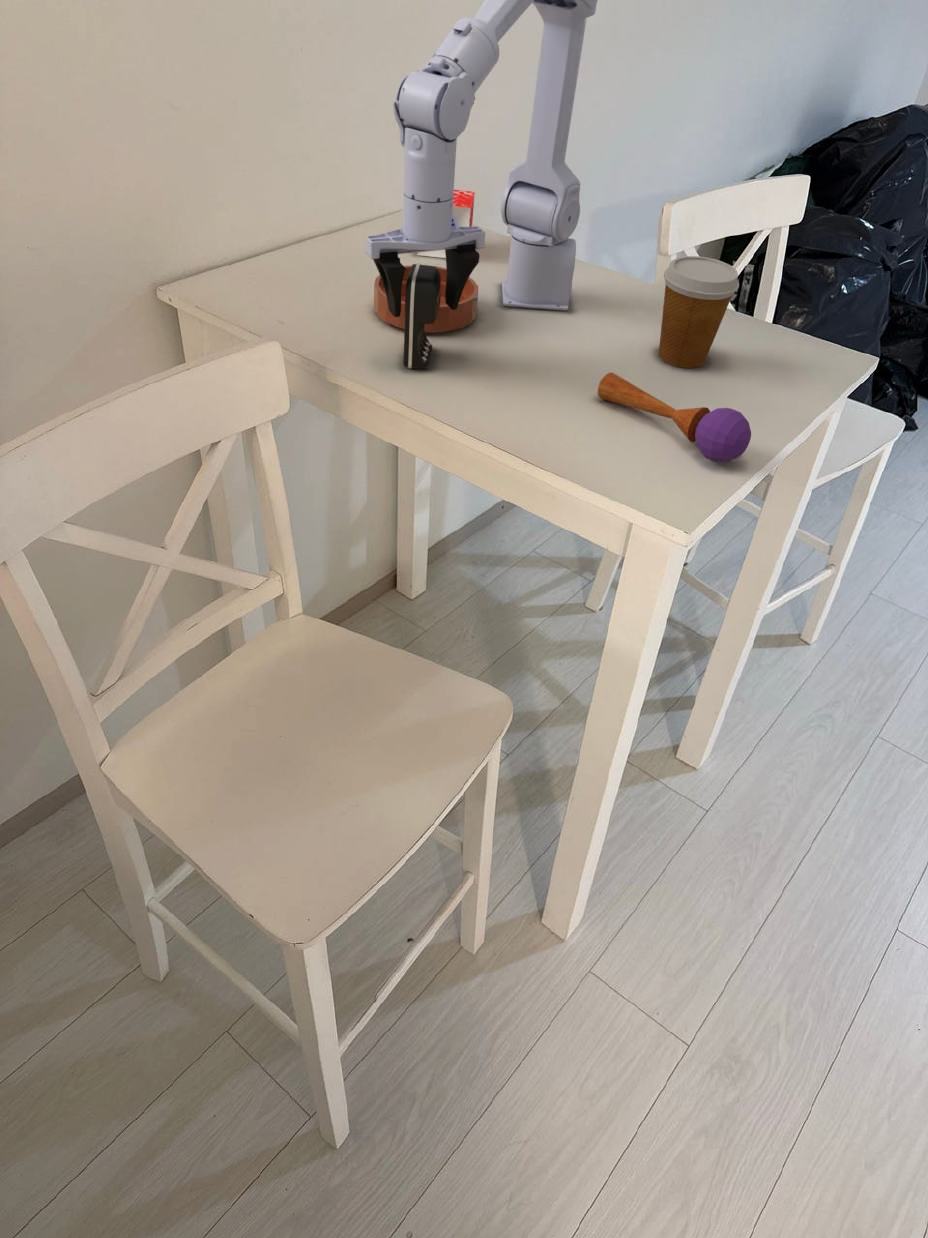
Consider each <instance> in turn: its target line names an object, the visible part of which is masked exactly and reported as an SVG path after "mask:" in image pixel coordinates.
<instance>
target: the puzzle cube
mask: <svg viewBox="0 0 928 1238" xmlns="http://www.w3.org/2000/svg"><path fill="white" fill-rule="evenodd" d="M475 193H476V192H475V191H471V190H461V189H454V193H453V209H452V225H451V226H461V227H473V219H474V206H475V196H476V195H475ZM416 256H421V257H422V256H423V257H432V258H439V259H446V254H445V250H435V251H425V252H416Z"/></svg>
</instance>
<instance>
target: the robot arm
mask: <svg viewBox="0 0 928 1238" xmlns="http://www.w3.org/2000/svg"><path fill="white" fill-rule="evenodd" d="M597 4H598V0H483V2H482V4H481V6H480V7H479V9H478V10H477V12H476V14H475V16H474V17H463V18H461V19H458V20H457V21H456V23H455V24H454V25H453V27H452V28H451V30H450V31H449V33H448V34H447V36H446V37H445V38H444V40H443V41H442V43H440V45H439V46H438V48H437V49H436V50H435V52H434V53H433V55H431V58H430V59H428V62H427V63H426V64H425V66H424V67H423V68H422V70H420V69H416V70H413V71H411V72H410V73H409V74H407V75H406V76H404V78H402V80H401V81H400V83H399V85H398V88H397V91H396V96H395V101H394V102H393V104H392V105H393V106H392V107H393V114H394V118H395V119H394V120H395V121H396V123H397V125H398V128H399V142H400V145H401V146H402V147H403V148H404V151H403V185H402V220H401V221H402V226H401V227H402V228H401V227H400V228H398V229H394V230H390V231H387V232H382V233H379V234H374V235H367V236H365V254H366V255H367V256H368V258H370V259H371V260H372V261H373V263H374V265H375V267H376V269H377V272H378V274H379V275H380V276H381V279H382V282H383V285H384V288H385V292H386V296H387V301H388V307H389V311H390V313H391V314H392V315H393V316H394V317H400V314H401V290H402V282H403V277H404V272H405V267H404V266H405V265H403V263H401V258H400V257H399V255H405V254H413V253H414V254H415V253H417V252H425V251H435V250H445V254H446V258H445V266H446V267H445V268H446V271H447V276H446V290H445V302H446V304H447V305H448V306H449V307H450V308H451V309H452V310H456V309H457V307H458V303H459V300H460V297H461V294H462V292H463V289H464V287H465V284H466V282H467V280H468V278H469V277H470V276H471V274H472V272H473V271H474V270H475V268H476V267H477V266H478V264H479V263H480V253H479V252H478V251H477V249H484V248H485V242H486V241H485V240H486V230H484V229H483V228H481V227H480V226H478V225H477V226H476V225H475V226H472V227H461V226H451V225H452V209H453V193H454V190H455V178H456V177H455V176H456V158H457V142H458V138H459V137H460V135H461V134H463V133H464V131H465V130H466V128H467V125H468V122H469V119H470V115H471V110H472V108H473V106H474V104H475V100H476V93H477V91H478V90H479V88H480V87H481V86H482V84H483V83H484V81H485V80H486V78H488V76H489V74H490V73H491V72H492V70H493V69H494V68H495V66H496V65H497V63H498V62H499V59H500V45H499V42H500V41H501V40H502V39H503V37H504V36H505V35H506V34H507V33H508V32H509V30H510V29H511V28H512V27H513V26H514V25H515V23H516V22H517V21H518V20H519V18H521V17H522V15H523V14H524V13H525V12H526V11H527V10H528V8H529V7H530V6H531V5H533V6H534V7H535V9H536V11H537V12H538V14H539V16H540V18H541V19H542V22H543V27H542V35H541V42H540V51H539V59H538V65H537V74H536V82H535V88H534V98H533V104H532V113H531V119H530V120H531V121H530V128H529V136H528V143H527V151H526V159H525V160H524V161H521V162H520V163H519V164H517V165H515V166H514V167H513V168H512V169H511V170H509V172H508V178H507V181H506V186H505V190H504V192H503V194H502V198H501V202H500V215H501V219H502V222H503V224H505V225H506V226H507V230H506V233H507V234H510V235H511V236H510V244H509V254H508V265H507V273H506V274H507V275H506V281H502V283H501V294H502V305H503V306H504V307H510V308H511V307H512V308H514V307H515V308H524V309H525V308H527V309H540V310H553V311H568V310H569V308H570V306H569V304H570V297H571V292H572V287H573V278H574V271H575V265H576V256H577V255H576V254H577V241H576V239H575V238H570V237H571V236H572V235H573V234H574V232H575V230H576V228H577V226H578V223H579V219H580V214H581V202H580V193H581V181H580V180H579V178H578V177H577V176H576V175H575V173H574V172H573V171H572V170H571V169H570V167H569V165H568V164H567V163H566V155H567V150H568V149H567V148H568V142H569V135H570V128H571V121H572V116H573V110H574V105H575V104H574V103H575V98H576V97H575V95H576V90H577V84H578V77H579V70H580V64H581V57H582V52H583V46H584V45H583V44H584V38H585V32H586V25H587V18H590V17H592V16H595V14H596V10H597Z"/></svg>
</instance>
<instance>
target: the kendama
mask: <svg viewBox="0 0 928 1238" xmlns="http://www.w3.org/2000/svg"><path fill="white" fill-rule="evenodd" d="M597 395H598V397H599V399H601V400H604V401H609V402H612V403H616V404H619V405H622V406H626V407H629V408H632V409H636V410H640V411H643V412H647V413H650V414H654V415H657V416H661V417H664V418H668V419H671V420H672V421H673V422H674V423H675V424H676V426H677V427H678V428H679V430H680V431H681V432H682V434H683V435H684V437H686V439H687V440H688V442H689V443H696V448H697V449H698V450H699V452H700V453H701V454H702V455H703V456H704V458H706V459H708V460H710V461H712V462H715V463H730V462H732V461H734V460H736V459H738V458H739V457H742V455H743V454H744V453H745V452H746V450H747V448H748V447H749V445H750V443H751V438H752V430H751V426H750V423H749V421H748V419H747V418H746V417H745V416H744V414H743V413H742V411H741V412H740V411H738V410H736V409H733V408H729V407H718V408H714V409H713V410H710V409H709V407H705V406H703V407H694V408H693V407H692V408H682V409H676V408H673V407H672V406H670V405H668V404H667V403H665V402H664V401H662V400H660V399H659V398H656V397H655V396H653V395H651V394H650V393H648V392H647V391H645V390H643V389H641V388H640V387H638V386H636V385H634V384H633V383H631V382H629V381H627V380H626V379H624V378H623V377H621V376H619V375H617V374H615V373H614V372H608V373H606V374H605V375H604V376H603V377H602V378H601V379H600V381H599V384H598V387H597Z"/></svg>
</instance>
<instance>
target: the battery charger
mask: <svg viewBox="0 0 928 1238" xmlns="http://www.w3.org/2000/svg"><path fill="white" fill-rule="evenodd" d="M410 266H411V268H410V271H409V274H408V277H407V282H406V294H405V326H404V329H403V330H404V332H403V333H404V334H403V367H405V368H408V369H426V368H427V367H429V364H430V361H431V357H432V353H433V344H431V343H430V341H429V339H428V337H427V335H426V332H425V331H424V327H425V324H432V323H434V322H435V320H436V318H437V314H438V309H439V307H440V298H441V275H440V271H439V270H438V269H437V268H436V267H434V266H435V265H429V264H428V265H427V264H421V263H413V264H412V265H410Z"/></svg>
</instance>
